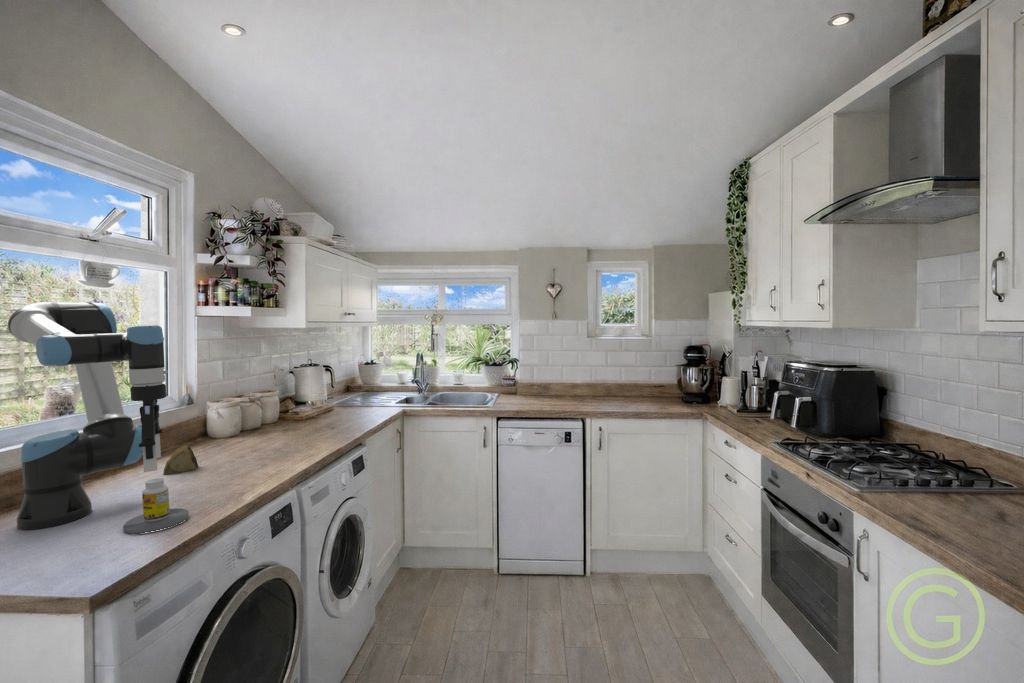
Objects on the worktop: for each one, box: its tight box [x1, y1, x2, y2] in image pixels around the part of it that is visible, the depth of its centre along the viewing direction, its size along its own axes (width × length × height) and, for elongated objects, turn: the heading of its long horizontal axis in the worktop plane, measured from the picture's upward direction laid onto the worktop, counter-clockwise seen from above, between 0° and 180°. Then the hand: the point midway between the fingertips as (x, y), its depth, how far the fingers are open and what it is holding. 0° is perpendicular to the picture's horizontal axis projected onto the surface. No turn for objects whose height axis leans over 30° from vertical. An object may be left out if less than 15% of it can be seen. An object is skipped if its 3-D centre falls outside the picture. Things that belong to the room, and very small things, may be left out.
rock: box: [162, 444, 199, 475], centre depth 178 cm, size 10×8×10 cm
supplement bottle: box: [141, 477, 170, 522], centre depth 129 cm, size 6×6×10 cm
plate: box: [122, 507, 190, 535], centre depth 130 cm, size 14×14×1 cm
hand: (152, 464), depth 129 cm, fingers open, 13 cm apart
